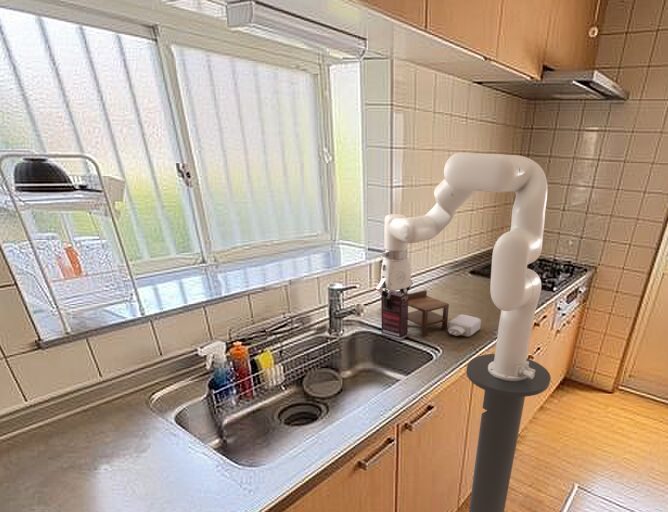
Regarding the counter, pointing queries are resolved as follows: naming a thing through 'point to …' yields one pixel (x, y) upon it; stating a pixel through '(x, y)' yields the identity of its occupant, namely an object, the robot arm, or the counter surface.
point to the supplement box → (395, 316)
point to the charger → (464, 325)
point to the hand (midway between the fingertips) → (394, 306)
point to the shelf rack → (426, 310)
